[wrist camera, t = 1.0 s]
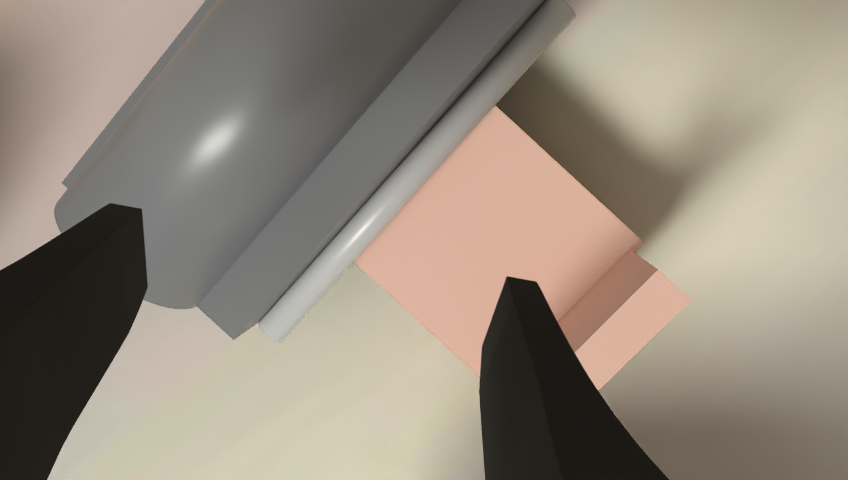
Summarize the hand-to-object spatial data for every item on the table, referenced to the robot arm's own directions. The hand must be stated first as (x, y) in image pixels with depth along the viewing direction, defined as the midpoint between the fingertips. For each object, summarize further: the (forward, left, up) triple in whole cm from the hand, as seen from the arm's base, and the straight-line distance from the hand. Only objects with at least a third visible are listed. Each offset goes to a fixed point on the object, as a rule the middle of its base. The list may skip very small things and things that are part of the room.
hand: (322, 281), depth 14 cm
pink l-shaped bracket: (0, -2, -10) cm, 10 cm away
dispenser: (+5, -2, -12) cm, 13 cm away
